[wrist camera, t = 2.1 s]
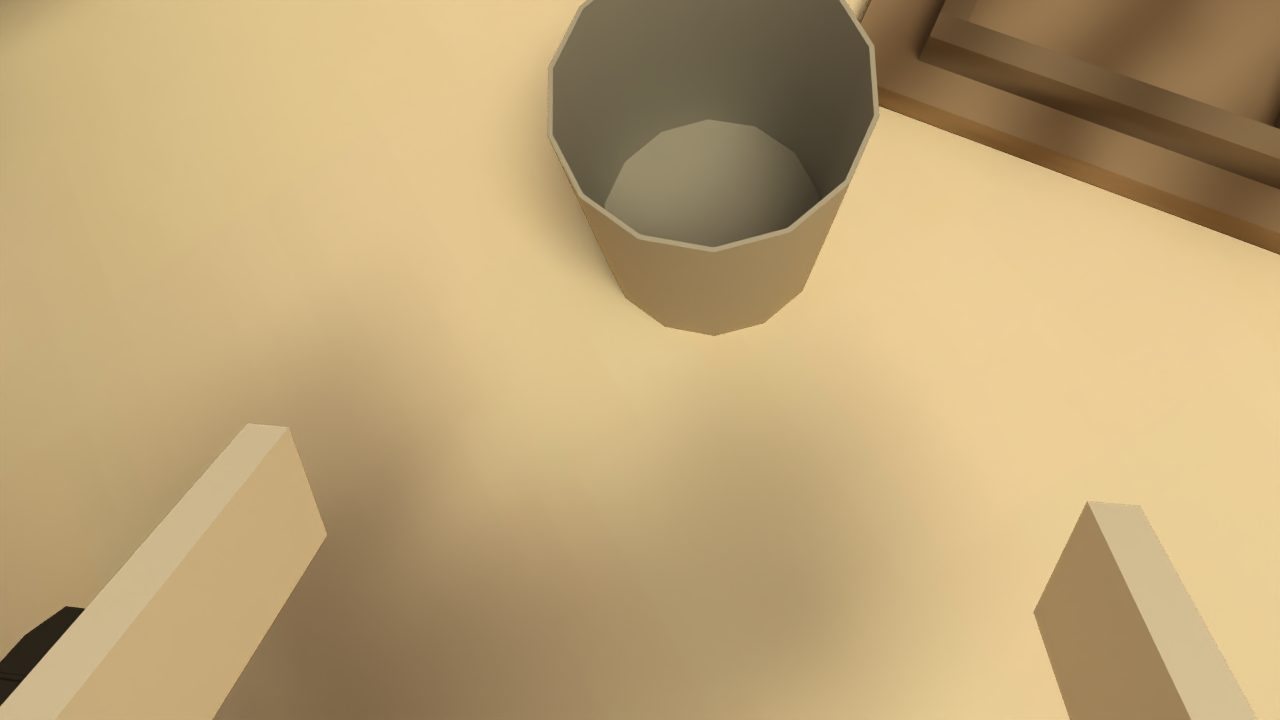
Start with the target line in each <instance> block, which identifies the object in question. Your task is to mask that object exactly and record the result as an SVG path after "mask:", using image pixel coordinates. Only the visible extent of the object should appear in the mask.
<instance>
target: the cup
mask: <svg viewBox="0 0 1280 720" xmlns="http://www.w3.org/2000/svg"><path fill="white" fill-rule="evenodd" d="M878 118H879V104H878V91H877V77H876V63H875V50H874V45H873V43H872V42H871V40H870V38H869V37H868V35H867V34H866V32H865V31H864V29H863V27H862V26H861V24H860V23H859V21H858V20H857V18H856V16H855V15H854V13H853V12H852V10H851V9H850V7H849V5H848V4H847V2H846V1H845V0H587V1H586V2H584V3H583V4H582V5H581V6H579V8H578V10H577V12H576V14H575V16H574V18H573V20H572V22H571V24H570V26H569V28H568V30H567V32H566V34H565V36H564V38H563V40H562V42H561V44H560V46H559V48H558V50H557V52H556V54H555V56H554V58H553V60H552V62H551V63H550V65H549V67H548V137H549V139H550V141H551V144H552V146H553V148H554V150H555V152H556V154H557V156H558V158H559V161H560V163H561V165H562V167H563V169H564V171H565V173H566V175H567V177H568V180H569V182H570V184H571V186H572V188H573V190H574V192H575V194H576V197H577V199H578V201H579V203H580V205H581V207H582V209H583V211H584V214H585V216H586V218H587V220H588V222H589V224H590V226H591V228H592V231H593V233H594V235H595V237H596V239H597V241H598V243H599V245H600V247H601V250H602V252H603V254H604V256H605V258H606V260H607V262H608V264H609V266H610V268H611V270H612V272H613V274H614V275H615V277H616V279H617V281H618V283H619V285H620V287H621V289H622V291H623V293H624V295H625V297H626V298H627V299H628V300H630V301H631V302H632V303H634V304H635V305H636V306H638V307H639V308H640V309H642V310H643V311H645V312H646V313H647V314H649V315H650V316H651V317H653V318H654V319H655V320H657V321H658V322H660V323H661V324H662V325H664V326H665V327H670V328H675V329H680V330H686V331H691V332H696V333H702V334H707V335H712V336H716V335H720V334H724V333H728V332H731V331H735V330H739V329H743V328H747V327H751V326H755V325H759V324H763V323H765V322H766V321H767V320H768V319H769V318H771V317H772V316H773V315H774V314H775V313H777V312H778V311H779V310H780V309H781V308H783V307H784V306H785V305H786V304H787V303H789V302H790V301H791V300H792V299H793V298H795V297H796V296H797V295H798V294H799V293H801V292H802V291H803V288H804V286H805V284H806V282H807V279H808V277H809V275H810V273H811V270H812V268H813V266H814V264H815V261H816V259H817V257H818V255H819V252H820V250H821V248H822V245H823V243H824V241H825V239H826V236H827V234H828V232H829V230H830V227H831V225H832V223H833V220H834V218H835V216H836V214H837V211H838V209H839V207H840V205H841V202H842V200H843V198H844V195H845V193H846V191H847V189H848V186H849V184H850V182H851V179H852V177H853V175H854V173H855V170H856V168H857V166H858V164H859V161H860V159H861V157H862V154H863V152H864V150H865V148H866V145H867V143H868V141H869V138H870V136H871V134H872V132H873V129H874V127H875V125H876V123H877V120H878Z"/></svg>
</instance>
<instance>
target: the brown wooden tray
mask: <svg viewBox="0 0 1280 720" xmlns="http://www.w3.org/2000/svg"><path fill="white" fill-rule="evenodd" d="M861 26H862V27H863V29H864V31H865V32H866V34H867V35H868V37H869V38H870V40H871V42H872V43H873V45H874V50H875V63H876V77H877V91H878V104H879V106H882V107H885V108H887V109H890V110H893V111H895V112H898V113H901V114H903V115H906V116H909V117H912V118H914V119H917V120H920V121H922V122H925V123H928V124H930V125H933V126H936V127H938V128H941V129H944V130H947V131H949V132H952V133H955V134H957V135H960V136H963V137H965V138H968V139H971V140H974V141H976V142H979V143H982V144H984V145H987V146H990V147H992V148H995V149H998V150H1000V151H1003V152H1006V153H1009V154H1011V155H1014V156H1017V157H1019V158H1022V159H1025V160H1027V161H1030V162H1033V163H1035V164H1038V165H1041V166H1044V167H1046V168H1049V169H1052V170H1054V171H1057V172H1060V173H1062V174H1065V175H1068V176H1070V177H1073V178H1076V179H1079V180H1081V181H1084V182H1087V183H1089V184H1092V185H1095V186H1097V187H1100V188H1103V189H1105V190H1108V191H1111V192H1114V193H1116V194H1119V195H1122V196H1124V197H1127V198H1130V199H1132V200H1135V201H1138V202H1141V203H1143V204H1146V205H1149V206H1151V207H1154V208H1157V209H1159V210H1162V211H1165V212H1167V213H1170V214H1173V215H1176V216H1178V217H1181V218H1184V219H1186V220H1189V221H1192V222H1194V223H1197V224H1200V225H1202V226H1205V227H1208V228H1211V229H1213V230H1216V231H1219V232H1221V233H1224V234H1227V235H1229V236H1232V237H1235V238H1237V239H1240V240H1243V241H1246V242H1248V243H1251V244H1254V245H1256V246H1259V247H1262V248H1264V249H1267V250H1270V251H1272V252H1275V253H1278V254H1280V0H871V2H870V4H869V6H868V9H867V11H866V13H865V15H864V17H863V19H862V22H861Z"/></svg>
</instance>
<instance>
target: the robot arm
mask: <svg viewBox="0 0 1280 720" xmlns="http://www.w3.org/2000/svg"><path fill="white" fill-rule="evenodd" d="M326 536H327V533H326V530H325V527H324V524H323V522H322V519H321V516H320V513H319V510H318V508H317V505H316V502H315V499H314V496H313V494H312V491H311V488H310V485H309V482H308V480H307V477H306V474H305V471H304V468H303V466H302V463H301V460H300V457H299V455H298V452H297V449H296V446H295V443H294V441H293V438H292V435H291V432H290V429H289V427H284V426H273V425H262V424H251V423H247V424H246V426H245V427H244V428H243V429H242V430H241V431H240V432H239V434H238V435H237V436H236V437H235V438H234V439H233V440H232V442H231V443H230V444H229V445H228V446H227V447H226V448H225V450H224V451H223V452H222V453H221V454H220V455H219V457H218V458H217V459H216V460H215V461H214V462H213V463H212V465H211V466H210V467H209V468H208V469H207V470H206V471H205V473H204V474H203V475H202V476H201V477H200V478H199V479H198V481H197V482H196V483H195V484H194V485H193V486H192V487H191V489H190V490H189V491H188V492H187V493H186V494H185V495H184V497H183V498H182V499H181V500H180V501H179V502H178V503H177V505H176V506H175V507H174V508H173V509H172V510H171V512H170V513H169V514H168V515H167V516H166V517H165V518H164V520H163V521H162V522H161V523H160V524H159V525H158V526H157V528H156V529H155V530H154V531H153V532H152V533H151V534H150V536H149V537H148V538H147V539H146V540H145V541H144V542H143V544H142V545H141V546H140V547H139V548H138V549H137V550H136V552H135V553H134V554H133V555H132V556H131V557H130V558H129V560H128V561H127V562H126V563H125V564H124V565H123V567H122V568H121V569H120V570H119V571H118V572H117V573H116V575H115V576H114V577H113V578H112V579H111V580H110V581H109V583H108V584H107V585H106V586H105V587H104V588H103V589H102V591H101V592H100V593H99V594H98V595H97V596H96V597H95V599H94V600H93V601H92V602H91V603H90V604H89V605H88V607H87V608H86V609H84V608H76V607H68V606H66V607H64V608H63V609H61V610H60V611H59V612H57V613H56V614H54V615H53V616H52V617H50V618H49V619H47V620H46V621H44V622H43V623H42V624H40V625H39V626H37V627H36V628H35V629H33V630H32V631H30V632H29V633H28V634H26V635H25V636H24V637H23V638H22V639H21V640H20V641H19V642H18V644H17V645H16V646H15V647H14V648H13V649H12V650H11V651H10V652H9V653H8V654H7V655H6V657H5V658H4V659H3V660H2V661H1V662H0V720H212V719H213V718H214V716H215V715H216V713H217V711H218V710H219V708H220V707H221V705H222V703H223V702H224V700H225V699H226V697H227V695H228V694H229V692H230V691H231V689H232V687H233V686H234V684H235V683H236V681H237V679H238V678H239V676H240V674H241V673H242V671H243V670H244V668H245V666H246V665H247V663H248V662H249V660H250V658H251V657H252V655H253V654H254V652H255V650H256V649H257V647H258V646H259V644H260V642H261V641H262V639H263V637H264V636H265V634H266V633H267V631H268V629H269V628H270V626H271V625H272V623H273V621H274V620H275V618H276V617H277V615H278V613H279V612H280V610H281V609H282V607H283V605H284V604H285V602H286V601H287V599H288V597H289V596H290V594H291V592H292V591H293V589H294V588H295V586H296V584H297V583H298V581H299V580H300V578H301V576H302V575H303V573H304V572H305V570H306V568H307V567H308V565H309V564H310V562H311V560H312V559H313V557H314V555H315V554H316V552H317V551H318V549H319V547H320V546H321V544H322V543H323V541H324V539H325V538H326ZM1034 615H1035V618H1036V621H1037V624H1038V627H1039V630H1040V633H1041V636H1042V639H1043V642H1044V645H1045V648H1046V651H1047V653H1048V656H1049V659H1050V662H1051V665H1052V668H1053V671H1054V674H1055V677H1056V680H1057V683H1058V686H1059V689H1060V692H1061V695H1062V698H1063V701H1064V704H1065V706H1066V709H1067V712H1068V715H1069V718H1070V720H1258V719H1257V717H1256V715H1255V714H1254V712H1253V710H1252V708H1251V706H1250V704H1249V703H1248V701H1247V699H1246V697H1245V695H1244V694H1243V692H1242V690H1241V688H1240V686H1239V684H1238V683H1237V681H1236V679H1235V677H1234V675H1233V674H1232V672H1231V670H1230V668H1229V666H1228V664H1227V663H1226V661H1225V659H1224V657H1223V655H1222V654H1221V652H1220V650H1219V648H1218V646H1217V644H1216V643H1215V641H1214V639H1213V637H1212V635H1211V634H1210V632H1209V630H1208V628H1207V626H1206V624H1205V623H1204V621H1203V619H1202V617H1201V615H1200V614H1199V612H1198V610H1197V608H1196V606H1195V604H1194V603H1193V601H1192V599H1191V597H1190V595H1189V594H1188V592H1187V590H1186V588H1185V586H1184V585H1183V583H1182V581H1181V579H1180V577H1179V575H1178V574H1177V572H1176V570H1175V568H1174V566H1173V565H1172V563H1171V561H1170V559H1169V557H1168V555H1167V554H1166V552H1165V550H1164V548H1163V546H1162V545H1161V543H1160V541H1159V539H1158V537H1157V535H1156V534H1155V532H1154V530H1153V528H1152V526H1151V525H1150V523H1149V521H1148V519H1147V517H1146V515H1145V514H1144V512H1143V510H1142V508H1141V506H1136V505H1125V504H1114V503H1103V502H1092V501H1087V503H1086V505H1085V507H1084V509H1083V511H1082V513H1081V515H1080V517H1079V519H1078V521H1077V523H1076V525H1075V527H1074V529H1073V532H1072V534H1071V536H1070V538H1069V540H1068V542H1067V544H1066V546H1065V548H1064V550H1063V552H1062V554H1061V556H1060V558H1059V560H1058V563H1057V565H1056V567H1055V569H1054V571H1053V573H1052V575H1051V577H1050V579H1049V581H1048V583H1047V585H1046V587H1045V589H1044V591H1043V594H1042V596H1041V598H1040V600H1039V602H1038V604H1037V606H1036V608H1035V610H1034Z"/></svg>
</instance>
